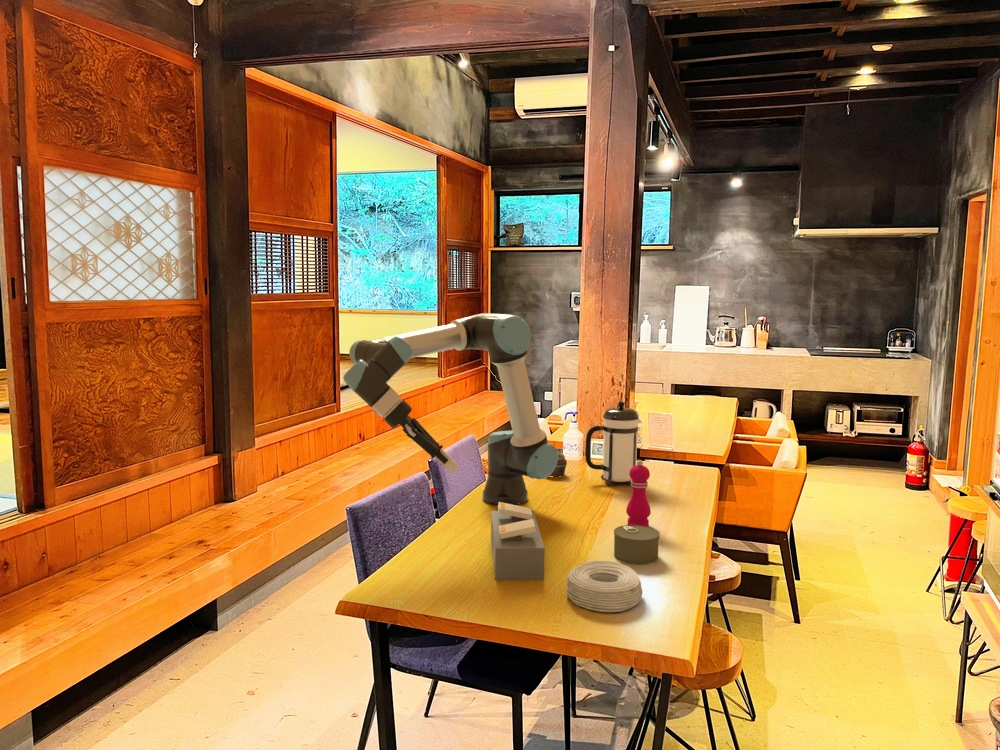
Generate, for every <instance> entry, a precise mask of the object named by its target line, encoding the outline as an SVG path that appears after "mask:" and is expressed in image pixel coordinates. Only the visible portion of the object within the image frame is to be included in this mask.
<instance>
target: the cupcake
mask: <svg viewBox="0 0 1000 750" xmlns="http://www.w3.org/2000/svg"><path fill="white" fill-rule="evenodd" d="M556 449H557V452H558V462H557V465H556V467H555V469H554V471H553V472H552V473H551V475H549V476H553V477H558V478H560V477H559V476H563V477H564V476H565V473H566V468H567V465H568V462H567V461H568V460H567V459H566V456H565V454H563V450H562V448H556Z"/></svg>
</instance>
